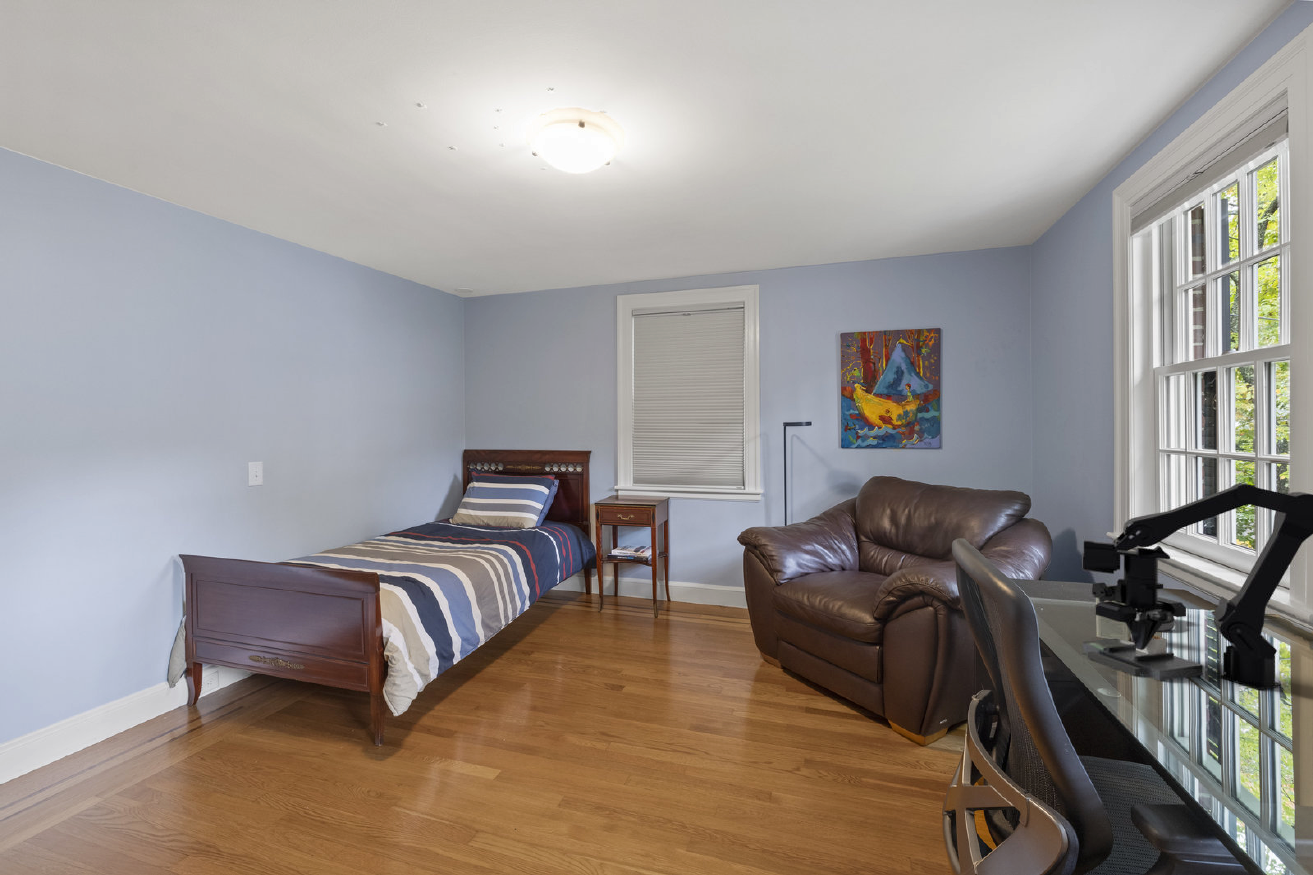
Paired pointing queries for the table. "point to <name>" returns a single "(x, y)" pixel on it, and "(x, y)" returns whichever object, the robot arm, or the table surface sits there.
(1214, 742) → the table surface
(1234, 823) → the table surface
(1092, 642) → the dark grey bar far
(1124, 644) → the panel
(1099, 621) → the skincare box
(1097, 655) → the dark grey bar
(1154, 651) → the breaker lever
